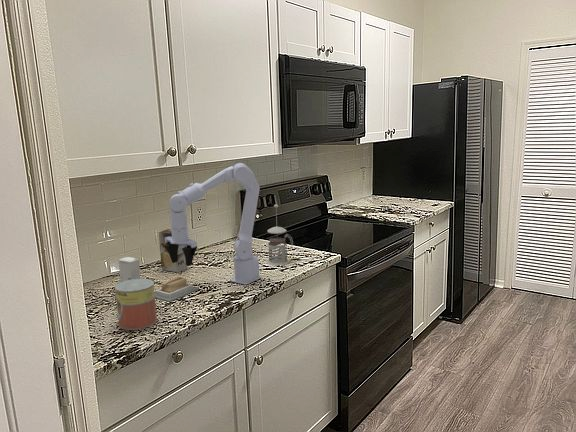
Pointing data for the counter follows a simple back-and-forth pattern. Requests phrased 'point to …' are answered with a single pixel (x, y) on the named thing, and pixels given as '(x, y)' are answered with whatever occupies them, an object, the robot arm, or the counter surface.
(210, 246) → the counter surface
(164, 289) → the maple block
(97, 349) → the counter surface
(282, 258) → the french press
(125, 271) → the skincare box
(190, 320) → the counter surface
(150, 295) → the canned food
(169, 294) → the board
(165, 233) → the coffee box
